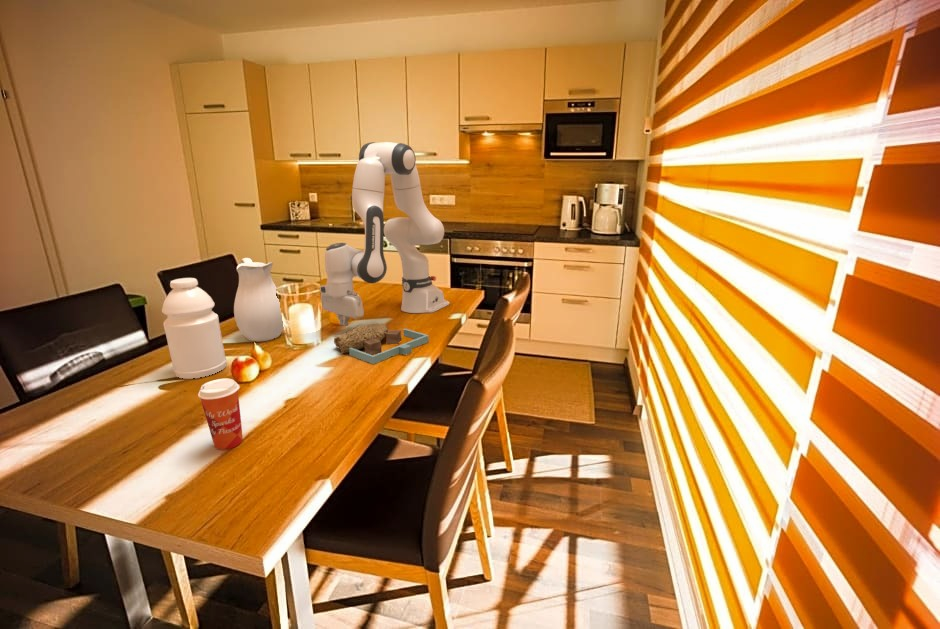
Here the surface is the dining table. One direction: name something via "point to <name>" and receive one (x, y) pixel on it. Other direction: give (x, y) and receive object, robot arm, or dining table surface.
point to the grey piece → (400, 349)
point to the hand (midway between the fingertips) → (344, 325)
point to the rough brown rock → (360, 336)
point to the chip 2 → (393, 336)
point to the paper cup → (222, 412)
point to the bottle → (192, 331)
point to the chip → (372, 346)
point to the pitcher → (257, 302)
